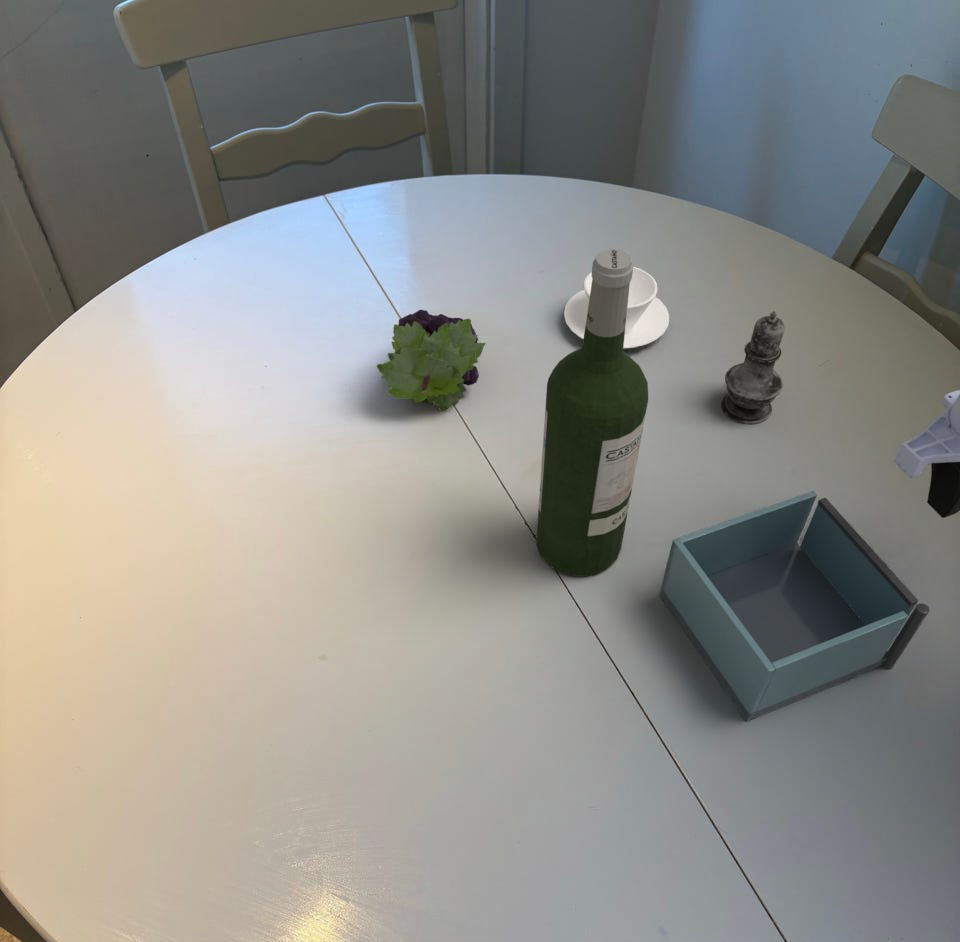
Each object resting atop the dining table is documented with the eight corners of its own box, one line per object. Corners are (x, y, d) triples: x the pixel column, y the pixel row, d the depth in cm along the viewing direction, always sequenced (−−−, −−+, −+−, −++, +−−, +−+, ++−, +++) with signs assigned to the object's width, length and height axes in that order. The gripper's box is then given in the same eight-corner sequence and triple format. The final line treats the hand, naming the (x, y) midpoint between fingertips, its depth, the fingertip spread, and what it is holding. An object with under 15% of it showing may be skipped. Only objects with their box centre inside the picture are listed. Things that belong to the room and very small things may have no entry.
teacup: (666, 297, 109) (673, 257, 105) (668, 361, 102) (676, 321, 98) (565, 291, 110) (569, 251, 106) (560, 354, 103) (563, 314, 99)
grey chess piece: (708, 395, 98) (732, 299, 89) (758, 384, 99) (786, 288, 90) (734, 431, 95) (761, 335, 86) (784, 419, 96) (817, 323, 87)
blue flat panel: (902, 640, 77) (930, 595, 72) (884, 648, 77) (911, 603, 72) (815, 540, 84) (836, 493, 79) (799, 546, 83) (818, 499, 78)
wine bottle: (614, 585, 83) (666, 301, 59) (528, 569, 84) (545, 284, 60) (626, 521, 87) (678, 234, 64) (544, 507, 88) (566, 220, 65)
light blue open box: (896, 666, 77) (932, 610, 71) (749, 727, 74) (774, 674, 67) (794, 545, 85) (819, 485, 79) (658, 594, 82) (673, 536, 76)
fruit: (472, 374, 105) (473, 438, 93) (380, 361, 104) (369, 423, 92) (487, 288, 99) (490, 344, 87) (390, 272, 98) (379, 327, 86)
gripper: (1053, 320, 69) (976, 451, 80) (896, 370, 65) (838, 500, 76) (1127, 376, 65) (1036, 506, 76) (964, 433, 61) (893, 561, 72)
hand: (941, 507), depth 76 cm, fingers closed
